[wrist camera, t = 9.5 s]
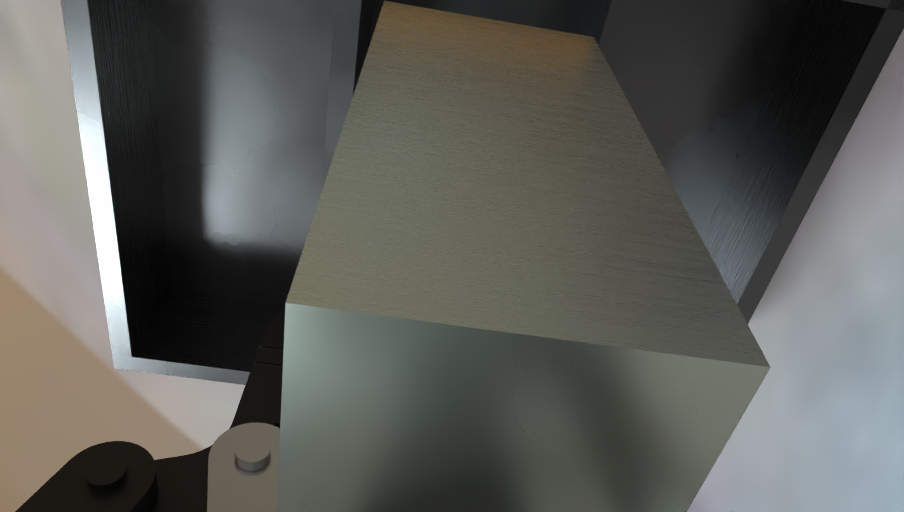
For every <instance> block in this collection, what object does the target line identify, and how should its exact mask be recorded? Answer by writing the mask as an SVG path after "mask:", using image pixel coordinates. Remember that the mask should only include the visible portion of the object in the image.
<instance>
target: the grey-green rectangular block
mask: <svg viewBox="0 0 904 512" xmlns="http://www.w3.org/2000/svg"><path fill="white" fill-rule="evenodd" d="M769 369H770V365H769V364H768V362H767V360H766V358H765V356H764V354H763V352H762V351H761V349H760V347H759V345H758V343H757V341H756V339H755V337H754V336H753V334H752V332H751V330H750V328H749V326H748V324H747V322H746V321H745V319H744V317H743V315H742V313H741V311H740V309H739V308H738V306H737V304H736V302H735V300H734V298H733V296H732V294H731V293H730V291H729V289H728V287H727V285H726V283H725V281H724V280H723V278H722V276H721V274H720V272H719V270H718V268H717V266H716V265H715V263H714V261H713V259H712V257H711V255H710V253H709V251H708V250H707V248H706V246H705V244H704V242H703V240H702V238H701V237H700V235H699V233H698V231H697V229H696V227H695V225H694V223H693V222H692V220H691V218H690V216H689V214H688V212H687V210H686V209H685V207H684V205H683V203H682V201H681V199H680V197H679V195H678V194H677V192H676V190H675V188H674V186H673V184H672V182H671V181H670V179H669V177H668V175H667V173H666V171H665V169H664V167H663V166H662V164H661V162H660V160H659V158H658V156H657V154H656V152H655V151H654V149H653V147H652V145H651V143H650V141H649V139H648V138H647V136H646V134H645V132H644V130H643V128H642V126H641V124H640V123H639V121H638V119H637V117H636V115H635V113H634V111H633V110H632V108H631V106H630V104H629V102H628V100H627V98H626V96H625V95H624V93H623V91H622V89H621V87H620V85H619V83H618V81H617V80H616V78H615V76H614V74H613V72H612V70H611V68H610V67H609V65H608V63H607V61H606V59H605V57H604V55H603V53H602V52H601V50H600V48H599V46H598V44H597V42H596V40H595V39H594V37H590V36H584V35H578V34H573V33H567V32H561V31H555V30H550V29H544V28H538V27H532V26H527V25H521V24H515V23H509V22H504V21H498V20H492V19H486V18H481V17H475V16H469V15H463V14H458V13H452V12H446V11H440V10H435V9H429V8H423V7H417V6H412V5H406V4H400V3H394V2H389V1H384V3H383V6H382V9H381V12H380V15H379V18H378V21H377V24H376V27H375V30H374V33H373V37H372V40H371V43H370V46H369V49H368V52H367V55H366V58H365V61H364V64H363V67H362V70H361V73H360V76H359V79H358V82H357V86H356V89H355V92H354V95H353V98H352V101H351V104H350V107H349V110H348V113H347V116H346V119H345V122H344V125H343V128H342V131H341V135H340V138H339V141H338V144H337V147H336V150H335V153H334V156H333V159H332V162H331V165H330V168H329V171H328V174H327V177H326V180H325V184H324V187H323V190H322V193H321V196H320V199H319V202H318V205H317V208H316V211H315V214H314V217H313V220H312V223H311V226H310V229H309V232H308V236H307V239H306V242H305V245H304V248H303V251H302V254H301V257H300V260H299V263H298V266H297V269H296V272H295V275H294V278H293V281H292V285H291V288H290V291H289V294H288V297H287V300H286V304H285V327H284V351H283V374H282V398H281V421H280V445H279V468H278V492H277V512H687V510H688V508H689V507H690V505H691V503H692V501H693V500H694V498H695V496H696V495H697V493H698V491H699V489H700V488H701V486H702V484H703V483H704V481H705V479H706V477H707V476H708V474H709V472H710V470H711V469H712V467H713V465H714V464H715V462H716V460H717V458H718V457H719V455H720V453H721V452H722V450H723V448H724V446H725V445H726V443H727V441H728V440H729V438H730V436H731V434H732V433H733V431H734V429H735V427H736V426H737V424H738V422H739V421H740V419H741V417H742V415H743V414H744V412H745V410H746V409H747V407H748V405H749V403H750V402H751V400H752V398H753V397H754V395H755V393H756V391H757V390H758V388H759V386H760V385H761V383H762V381H763V379H764V378H765V376H766V374H767V372H768V371H769Z"/></svg>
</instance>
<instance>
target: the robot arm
mask: <svg viewBox="0 0 904 512" xmlns="http://www.w3.org/2000/svg"><path fill="white" fill-rule="evenodd" d="M284 327H285V311H282V312H281V313H280V314H279V315H278V316H277V317H275V318H274V319H273V320H272V321H271V322H270V323H269V324H268V325H267V326H266V328H265V331H264V334H263V337H262V339H261V342H260V345H259V349H258V351H257V354H256V357H255V360H254V364H253V365H252V368H251V371H250V374H249V377H248V380H247V383H246V386H245V388H244V391H243V394H242V397H241V400H240V403H239V406H238V409H237V411H236V414H235V417H234V420H233V423H232V425H231V427H230V428H229V430H227V431H226V432H224V433H223V434H222V435H221V436H219V437H218V439H217V440H216V441H215V442H214V444H213V445H212V446H210V447H208V448H206V449H204V450H202V451H199V452H196V453H194V454H189V455H184V456H178V457H172V458H165V459H158V460H154V459H153V457H152V456H151V454H150V453H149V452H148V451H147V450H146V449H144V448H143V447H141V446H139V445H137V444H134V443H130V442H124V441H112V442H105V443H101V444H97V445H94V446H91V447H89V448H87V449H85V450H83V451H81V452H80V453H78V454H77V455H75V456H74V457H73V458H72V459H71V460H69V461H68V462H67V463H66V464H65V465H64V466H63V467H62V468H61V469H60V470H59V471H58V472H57V473H56V474H55V475H54V476H52V477H51V478H50V479H49V480H48V481H47V482H46V483H45V484H44V485H43V486H42V487H41V488H40V489H39V490H38V491H37V492H36V493H35V494H33V496H31V497H30V498H29V499H28V500H27V501H26V502H25V503H24V504H23V505H22V506H21V507H20V508H19V509H18V510H17V511H16V512H277V492H278V468H279V445H280V421H281V398H282V374H283V351H284Z"/></svg>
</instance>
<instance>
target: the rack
mask: <svg viewBox="0 0 904 512" xmlns="http://www.w3.org/2000/svg"><path fill="white" fill-rule="evenodd" d="M384 1H389V2H394V3H400V4H406V5H412V6H417V7H423V8H429V9H435V10H440V11H446V12H452V13H458V14H463V15H469V16H475V17H481V18H486V19H492V20H498V21H504V22H509V23H515V24H521V25H527V26H532V27H538V28H544V29H550V30H555V31H561V32H567V33H573V34H578V35H584V36H590V37H594V39H595V40H596V42H597V44H598V46H599V48H600V50H601V52H602V53H603V55H604V57H605V59H606V61H607V63H608V65H609V67H610V68H611V70H612V72H613V74H614V76H615V78H616V80H617V81H618V83H619V85H620V87H621V89H622V91H623V93H624V95H625V96H626V98H627V100H628V102H629V104H630V106H631V108H632V110H633V111H634V113H635V115H636V117H637V119H638V121H639V123H640V124H641V126H642V128H643V130H644V132H645V134H646V136H647V138H648V139H649V141H650V143H651V145H652V147H653V149H654V151H655V152H656V154H657V156H658V158H659V160H660V162H661V164H662V166H663V167H664V169H665V171H666V173H667V175H668V177H669V179H670V181H671V182H672V184H673V186H674V188H675V190H676V192H677V194H678V195H679V197H680V199H681V201H682V203H683V205H684V207H685V209H686V210H687V212H688V214H689V216H690V218H691V220H692V222H693V223H694V225H695V227H696V229H697V231H698V233H699V235H700V237H701V238H702V240H703V242H704V244H705V246H706V248H707V250H708V251H709V253H710V255H711V257H712V259H713V261H714V263H715V265H716V266H717V268H718V270H719V272H720V274H721V276H722V278H723V280H724V281H725V283H726V285H727V287H728V289H729V291H730V293H731V294H732V296H733V298H734V300H735V302H736V304H737V306H738V308H739V309H740V311H741V313H742V315H743V317H744V319H745V321H746V322H747V324H748V322H749V320H750V319H751V317H752V315H753V313H754V311H755V309H756V307H757V305H758V303H759V301H760V300H761V298H762V296H763V294H764V292H765V290H766V288H767V286H768V284H769V282H770V281H771V279H772V277H773V275H774V273H775V271H776V269H777V267H778V265H779V264H780V262H781V260H782V258H783V256H784V254H785V252H786V250H787V248H788V246H789V245H790V243H791V241H792V239H793V237H794V235H795V233H796V231H797V229H798V227H799V226H800V224H801V222H802V220H803V218H804V216H805V214H806V212H807V210H808V209H809V207H810V205H811V203H812V201H813V199H814V197H815V195H816V193H817V191H818V190H819V188H820V186H821V184H822V182H823V180H824V178H825V176H826V174H827V172H828V171H829V169H830V167H831V165H832V163H833V161H834V159H835V157H836V155H837V154H838V152H839V150H840V148H841V146H842V144H843V142H844V140H845V138H846V136H847V135H848V133H849V131H850V129H851V127H852V125H853V123H854V121H855V119H856V117H857V116H858V114H859V112H860V110H861V108H862V106H863V104H864V102H865V100H866V99H867V97H868V95H869V93H870V91H871V89H872V87H873V85H874V83H875V81H876V80H877V78H878V76H879V74H880V72H881V70H882V68H883V66H884V64H885V62H886V61H887V59H888V57H889V55H890V53H891V51H892V49H893V47H894V45H895V44H896V42H897V40H898V38H899V36H900V34H901V32H902V30H903V28H904V0H61V5H62V12H63V19H64V26H65V33H66V40H67V47H68V54H69V60H70V67H71V74H72V81H73V88H74V95H75V102H76V109H77V116H78V123H79V129H80V136H81V143H82V150H83V157H84V164H85V171H86V178H87V185H88V192H89V198H90V205H91V212H92V219H93V226H94V233H95V240H96V247H97V254H98V261H99V267H100V274H101V281H102V288H103V295H104V302H105V309H106V316H107V323H108V329H109V336H110V343H111V350H112V357H113V364H114V368H117V369H125V370H132V371H140V372H148V373H156V374H164V375H172V376H180V377H188V378H196V379H203V380H211V381H219V382H227V383H235V384H243V385H246V383H247V380H248V377H249V374H250V371H251V368H252V365H253V364H254V360H255V357H256V354H257V351H258V349H259V345H260V342H261V339H262V337H263V334H264V331H265V328H266V326H267V325H268V324H269V323H270V322H271V321H272V320H273V319H274V318H275V317H277V316H278V315H279V314H280V313H281V312H282V311H285V304H286V300H287V297H288V294H289V291H290V288H291V285H292V281H293V278H294V275H295V272H296V269H297V266H298V263H299V260H300V257H301V254H302V251H303V248H304V245H305V242H306V239H307V236H308V232H309V229H310V226H311V223H312V220H313V217H314V214H315V211H316V208H317V205H318V202H319V199H320V196H321V193H322V190H323V187H324V184H325V180H326V177H327V174H328V171H329V168H330V165H331V162H332V159H333V156H334V153H335V150H336V147H337V144H338V141H339V138H340V135H341V131H342V128H343V125H344V122H345V119H346V116H347V113H348V110H349V107H350V104H351V101H352V98H353V95H354V92H355V89H356V86H357V82H358V79H359V76H360V73H361V70H362V67H363V64H364V61H365V58H366V55H367V52H368V49H369V46H370V43H371V40H372V37H373V33H374V30H375V27H376V24H377V21H378V18H379V15H380V12H381V9H382V6H383V3H384Z"/></svg>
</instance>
